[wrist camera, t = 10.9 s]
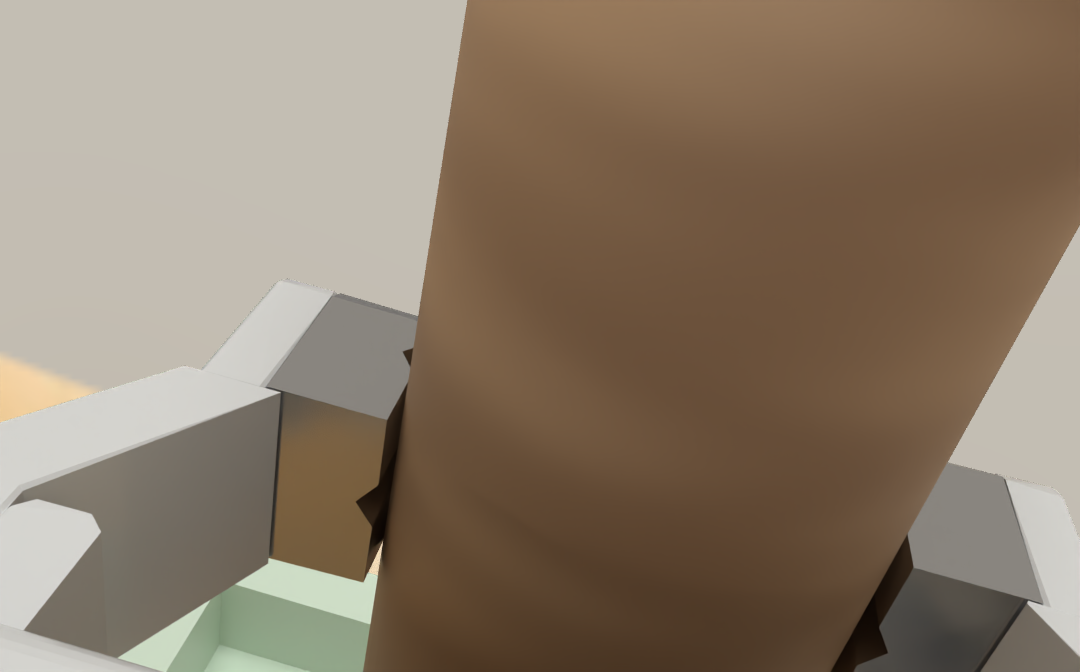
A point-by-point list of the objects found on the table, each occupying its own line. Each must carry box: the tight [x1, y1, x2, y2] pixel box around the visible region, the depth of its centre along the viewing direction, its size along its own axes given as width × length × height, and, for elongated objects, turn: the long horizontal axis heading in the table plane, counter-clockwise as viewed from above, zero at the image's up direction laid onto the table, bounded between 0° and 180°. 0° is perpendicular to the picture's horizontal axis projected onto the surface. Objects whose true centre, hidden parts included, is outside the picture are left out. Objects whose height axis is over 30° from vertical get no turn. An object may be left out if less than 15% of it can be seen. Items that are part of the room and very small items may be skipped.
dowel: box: [363, 0, 1080, 672], centre depth 9 cm, size 4×4×16 cm
